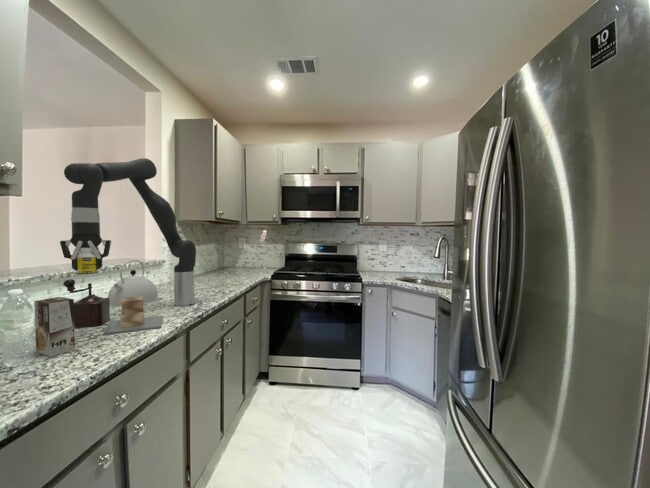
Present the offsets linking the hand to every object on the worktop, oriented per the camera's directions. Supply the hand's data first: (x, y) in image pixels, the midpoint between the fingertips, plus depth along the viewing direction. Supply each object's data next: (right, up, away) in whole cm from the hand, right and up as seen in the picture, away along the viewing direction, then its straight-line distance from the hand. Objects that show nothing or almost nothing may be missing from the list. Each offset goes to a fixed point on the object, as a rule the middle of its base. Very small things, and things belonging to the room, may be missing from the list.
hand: (87, 269), depth 100 cm
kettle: (-21, -22, +53) cm, 62 cm away
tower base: (+7, -23, +13) cm, 27 cm away
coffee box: (-1, -25, -11) cm, 27 cm away
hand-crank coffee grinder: (-15, -24, +16) cm, 32 cm away
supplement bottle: (0, -2, 0) cm, 2 cm away
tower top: (+7, -18, +13) cm, 23 cm away
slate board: (+8, -24, +14) cm, 28 cm away
